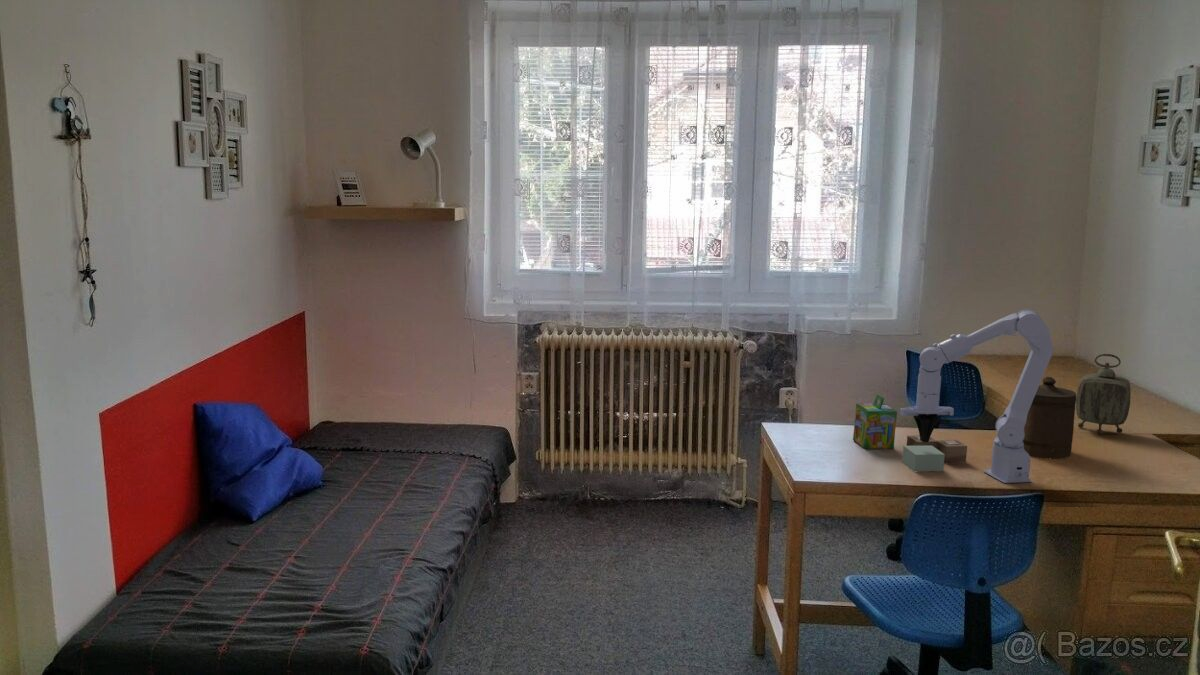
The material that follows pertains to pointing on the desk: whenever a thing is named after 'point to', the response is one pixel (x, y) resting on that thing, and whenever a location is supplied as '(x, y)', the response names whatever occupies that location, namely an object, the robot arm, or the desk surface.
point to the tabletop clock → (1103, 397)
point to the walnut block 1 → (917, 442)
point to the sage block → (923, 458)
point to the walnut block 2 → (952, 451)
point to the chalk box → (875, 425)
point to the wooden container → (1050, 422)
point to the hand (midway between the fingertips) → (924, 441)
